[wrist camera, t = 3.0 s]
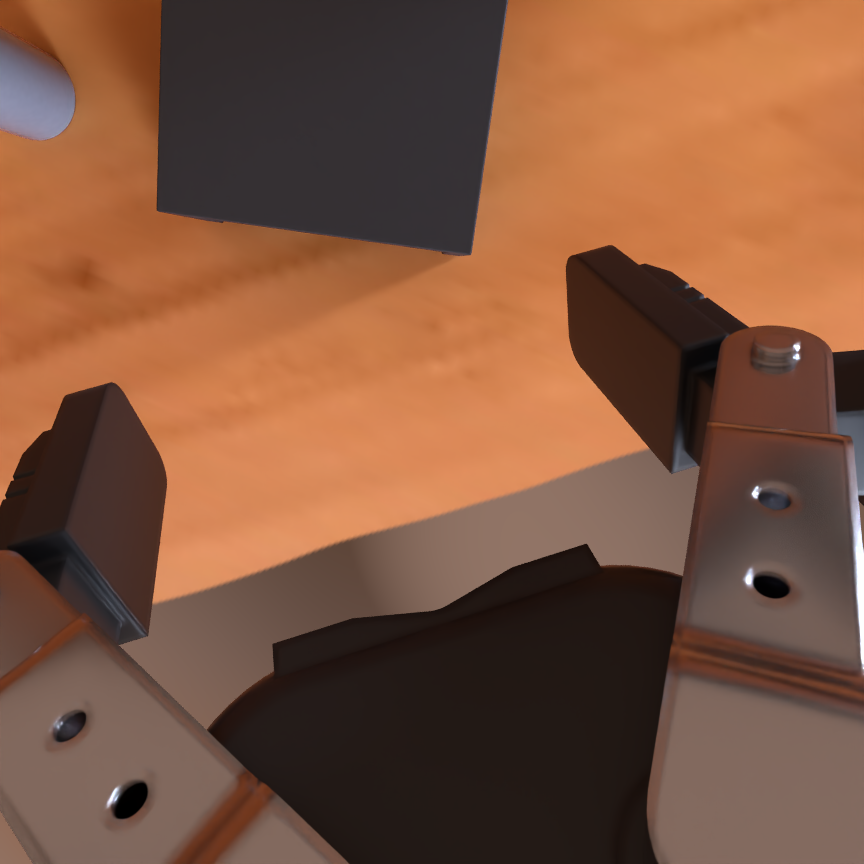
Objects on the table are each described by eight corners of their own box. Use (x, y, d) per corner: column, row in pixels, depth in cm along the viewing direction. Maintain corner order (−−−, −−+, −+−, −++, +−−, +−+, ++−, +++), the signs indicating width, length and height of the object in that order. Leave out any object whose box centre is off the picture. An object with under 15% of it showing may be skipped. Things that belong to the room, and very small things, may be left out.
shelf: (215, -32, 32) (163, -110, 25) (493, 14, 33) (515, -49, 26) (205, 220, 35) (156, 211, 28) (459, 256, 36) (471, 255, 29)
